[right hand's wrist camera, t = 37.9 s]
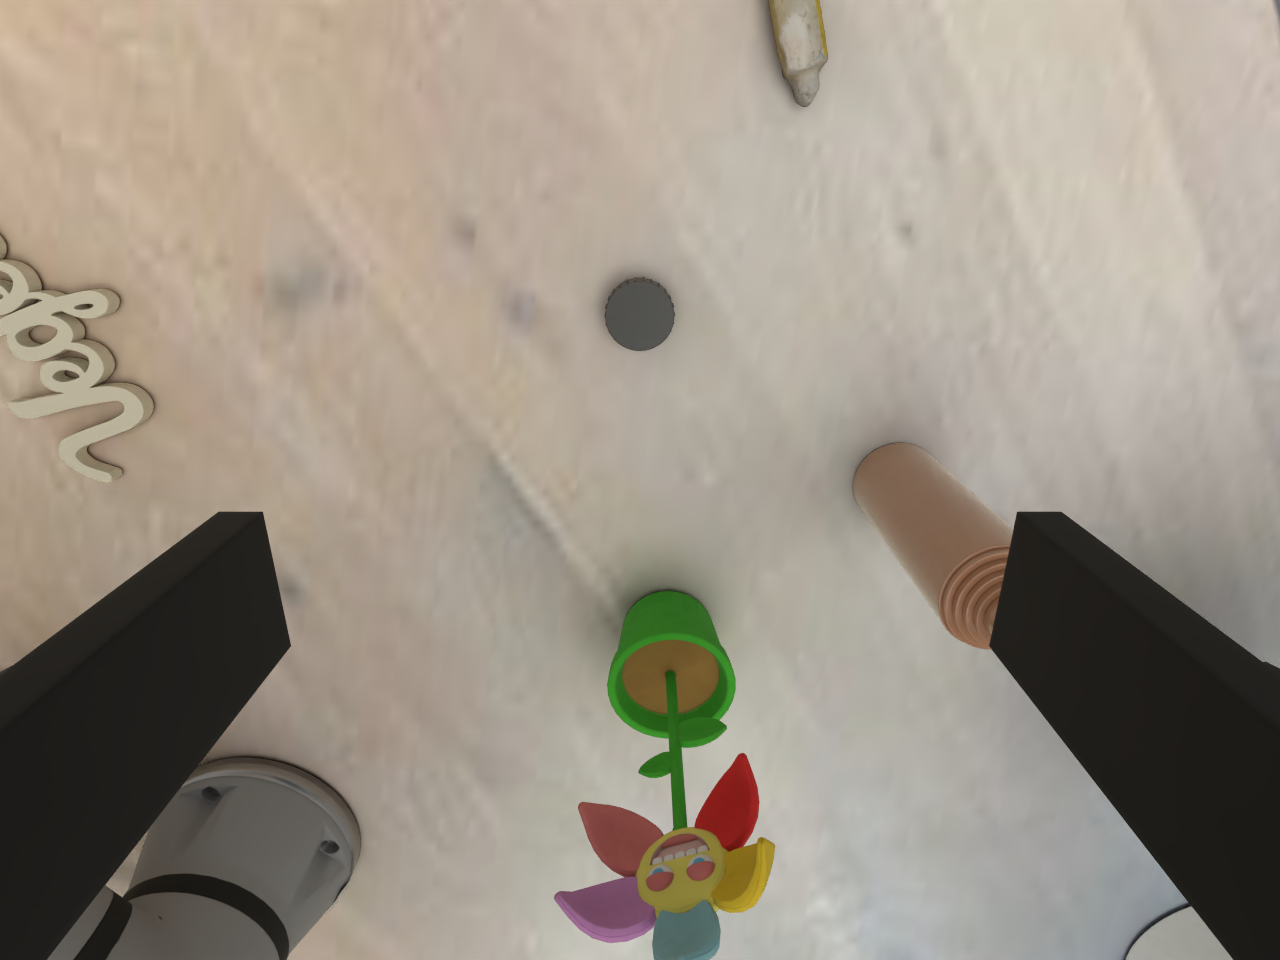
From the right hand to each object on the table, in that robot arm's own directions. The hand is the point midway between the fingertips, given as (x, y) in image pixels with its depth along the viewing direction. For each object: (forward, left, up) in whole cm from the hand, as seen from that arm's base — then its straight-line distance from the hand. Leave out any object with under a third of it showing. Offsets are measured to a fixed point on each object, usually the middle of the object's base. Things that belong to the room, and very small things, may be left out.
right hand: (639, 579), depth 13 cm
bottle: (+20, 0, -32) cm, 37 cm away
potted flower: (+13, -17, -32) cm, 38 cm away
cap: (0, 0, -30) cm, 30 cm away
